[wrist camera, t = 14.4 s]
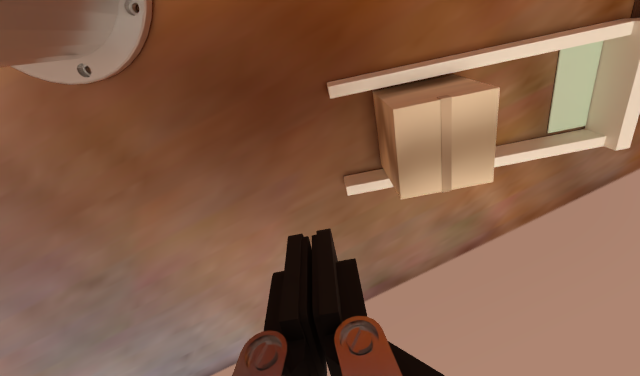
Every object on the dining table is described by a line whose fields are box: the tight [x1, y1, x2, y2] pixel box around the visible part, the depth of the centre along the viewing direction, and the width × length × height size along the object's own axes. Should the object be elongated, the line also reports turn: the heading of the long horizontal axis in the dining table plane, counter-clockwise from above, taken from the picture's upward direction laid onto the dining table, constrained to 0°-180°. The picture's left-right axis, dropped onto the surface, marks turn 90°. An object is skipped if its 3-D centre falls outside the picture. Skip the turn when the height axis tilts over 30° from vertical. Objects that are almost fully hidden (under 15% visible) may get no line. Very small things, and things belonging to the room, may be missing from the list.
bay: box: [327, 18, 640, 196], centre depth 22 cm, size 9×21×3 cm, turn 101°
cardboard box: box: [373, 74, 500, 199], centre depth 21 cm, size 6×6×6 cm
